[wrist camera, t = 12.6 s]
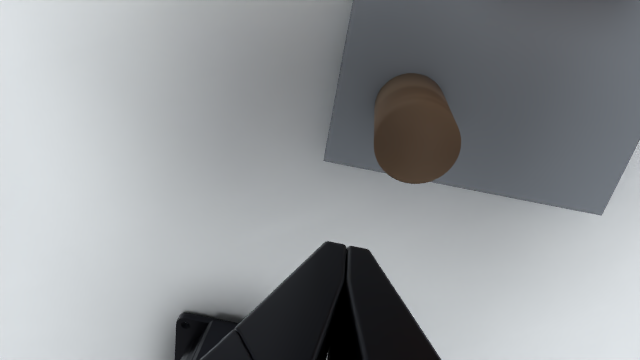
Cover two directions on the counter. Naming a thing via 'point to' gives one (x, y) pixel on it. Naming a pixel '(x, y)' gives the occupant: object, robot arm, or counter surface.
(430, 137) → the walnut post
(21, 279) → the counter surface
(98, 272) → the counter surface
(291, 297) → the robot arm
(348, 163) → the board
